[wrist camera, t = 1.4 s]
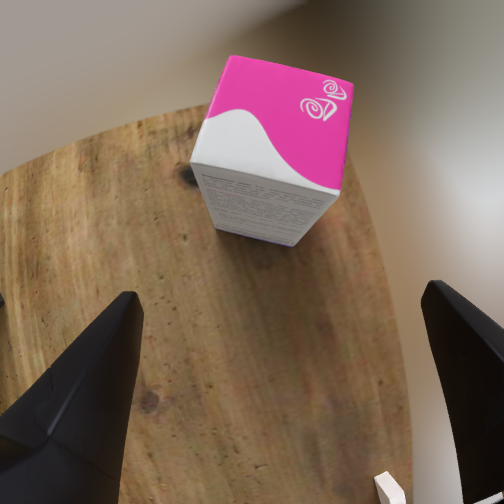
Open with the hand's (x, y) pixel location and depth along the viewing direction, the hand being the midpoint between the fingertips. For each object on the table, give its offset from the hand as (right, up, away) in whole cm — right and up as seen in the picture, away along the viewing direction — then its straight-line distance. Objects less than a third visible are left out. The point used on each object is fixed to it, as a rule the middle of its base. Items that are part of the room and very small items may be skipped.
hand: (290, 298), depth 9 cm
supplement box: (0, +5, +14) cm, 15 cm away
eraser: (+10, -19, +10) cm, 24 cm away
